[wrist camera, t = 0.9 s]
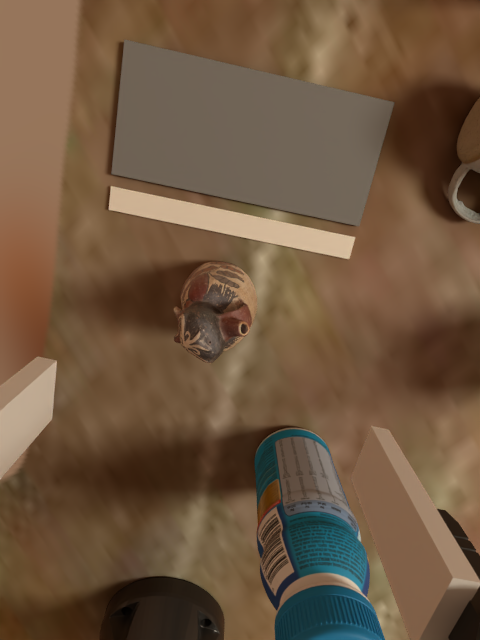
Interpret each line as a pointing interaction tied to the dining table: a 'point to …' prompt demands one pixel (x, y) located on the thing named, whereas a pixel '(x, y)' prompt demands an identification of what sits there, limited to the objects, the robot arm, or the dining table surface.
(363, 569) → the beverage bottle
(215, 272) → the figurine
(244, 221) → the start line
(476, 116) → the ceramic mug
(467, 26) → the dining table surface
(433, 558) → the robot arm
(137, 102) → the mat
